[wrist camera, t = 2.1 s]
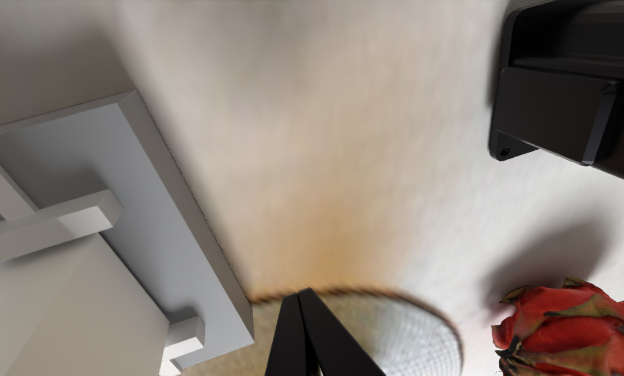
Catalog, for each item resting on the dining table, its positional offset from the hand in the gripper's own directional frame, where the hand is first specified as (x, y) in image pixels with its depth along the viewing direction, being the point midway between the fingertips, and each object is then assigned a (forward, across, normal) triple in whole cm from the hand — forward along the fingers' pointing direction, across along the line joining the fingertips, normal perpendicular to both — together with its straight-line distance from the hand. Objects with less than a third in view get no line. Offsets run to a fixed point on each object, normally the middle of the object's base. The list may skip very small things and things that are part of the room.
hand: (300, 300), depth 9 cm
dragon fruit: (+6, -16, +16) cm, 23 cm away
